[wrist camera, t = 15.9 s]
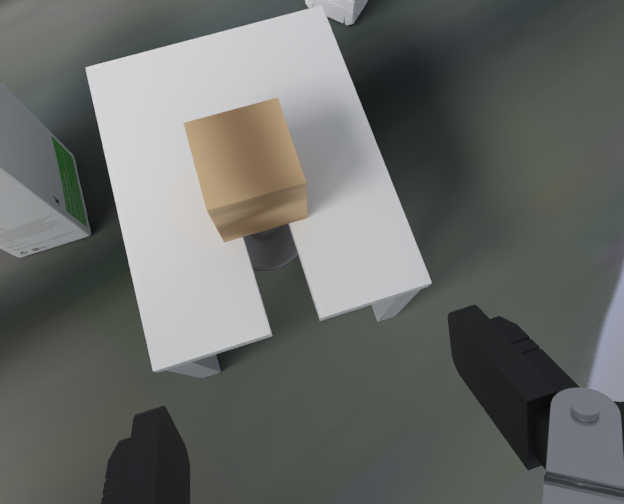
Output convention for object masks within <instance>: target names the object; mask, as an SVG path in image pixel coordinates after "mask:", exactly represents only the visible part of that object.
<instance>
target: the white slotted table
mask: <svg viewBox="0 0 624 504" xmlns="http://www.w3.org/2000/svg"><path fill="white" fill-rule="evenodd" d="M85 69H86V73H87V78H88V82H89V87H90V91H91V96H92V100H93V105H94V109H95V114H96V118H97V123H98V127H99V131H100V136H101V140H102V145H103V149H104V154H105V158H106V163H107V167H108V172H109V176H110V181H111V185H112V190H113V194H114V199H115V203H116V208H117V212H118V217H119V221H120V226H121V230H122V235H123V239H124V244H125V248H126V253H127V257H128V262H129V266H130V271H131V275H132V280H133V284H134V289H135V293H136V298H137V302H138V307H139V311H140V316H141V320H142V325H143V329H144V334H145V338H146V342H147V347H148V351H149V356H150V360H151V365H152V369H153V372H158V373H159V372H162V371H165V370H167V371H171V372H175V373H180V374H184V375H189V376H193V377H198V378H205V377H208V376H211V375H215V374H218V373H221V370H220V366H219V363H218V359H217V355H216V354H218V353H222V352H225V351H228V350H231V349H234V348H237V347H240V346H244V345H247V344H250V343H253V342H256V341H259V340H262V339H266V338H269V337H272V336H273V335H272V332H271V329H270V325H269V322H268V318H267V315H266V312H265V308H264V305H263V301H262V298H261V295H260V291H259V288H258V284H257V281H256V278H255V274H254V271H253V267H252V264H251V261H250V257H249V254H248V250H247V247H246V244H245V240H244V237H241V238H238V239H234V240H231V241H227V242H224V241H223V239H222V237H221V235H220V234H219V232H218V230H217V228H216V226H215V225H214V223H213V221H212V219H211V217H210V215H209V214H208V212H207V209H206V206H205V202H204V198H203V194H202V191H201V187H200V183H199V179H198V176H197V172H196V168H195V164H194V161H193V157H192V153H191V150H190V146H189V142H188V138H187V135H186V131H185V127H184V123H185V122H189V121H192V120H196V119H200V118H204V117H207V116H211V115H215V114H218V113H222V112H226V111H230V110H233V109H237V108H241V107H244V106H248V105H252V104H256V103H259V102H263V101H267V100H270V99H274V98H278V99H279V102H280V105H281V108H282V111H283V114H284V117H285V120H286V123H287V126H288V129H289V132H290V135H291V138H292V141H293V144H294V147H295V150H296V153H297V156H298V159H299V162H300V165H301V168H302V171H303V174H304V177H305V180H306V191H307V218H306V219H303V220H299V221H296V222H293V223H289V227H290V230H291V233H292V237H293V240H294V243H295V246H296V249H297V252H298V255H299V258H300V261H301V264H302V267H303V271H304V274H305V277H306V280H307V283H308V286H309V289H310V292H311V295H312V298H313V301H314V304H315V308H316V311H317V314H318V317H319V320H320V321H322V320H325V319H328V318H332V317H335V316H338V315H341V314H344V313H347V312H350V311H354V310H357V309H360V308H363V307H366V306H369V305H371V306H372V308H373V311H374V314H375V317H376V320H377V322H379V321H382V320H385V319H389V318H392V317H395V316H396V315H397V314H398V313H399V312H400V311H401V310H402V309H403V308H404V307H405V306H406V304H407V303H408V302H409V301H410V300H411V299H412V298H413V297H414V296H415V295H416V294H417V293H418V292H419V291H420V290H421V289H423V288H426V287H428V286H429V285H430V284H431V283H432V282H431V279H430V277H429V274H428V272H427V269H426V267H425V264H424V262H423V259H422V257H421V254H420V251H419V249H418V246H417V244H416V241H415V239H414V236H413V234H412V231H411V229H410V226H409V224H408V221H407V219H406V216H405V214H404V211H403V209H402V206H401V203H400V201H399V198H398V196H397V193H396V191H395V188H394V186H393V183H392V181H391V178H390V176H389V173H388V171H387V168H386V166H385V163H384V161H383V158H382V156H381V153H380V150H379V148H378V145H377V143H376V140H375V138H374V135H373V133H372V130H371V128H370V125H369V123H368V120H367V118H366V115H365V113H364V110H363V108H362V105H361V102H360V100H359V97H358V95H357V92H356V90H355V87H354V85H353V82H352V80H351V77H350V75H349V72H348V70H347V67H346V65H345V62H344V60H343V57H342V55H341V52H340V49H339V47H338V44H337V42H336V39H335V37H334V34H333V32H332V29H331V27H330V24H329V22H328V19H327V17H326V14H325V12H324V9H323V7H322V5H321V6H317V7H314V8H310V9H306V10H302V11H298V12H295V13H291V14H287V15H283V16H279V17H275V18H272V19H268V20H264V21H260V22H256V23H253V24H249V25H245V26H241V27H237V28H234V29H230V30H226V31H222V32H218V33H215V34H211V35H207V36H203V37H199V38H196V39H192V40H188V41H184V42H180V43H176V44H173V45H169V46H165V47H161V48H157V49H154V50H150V51H146V52H142V53H138V54H135V55H131V56H127V57H123V58H119V59H116V60H112V61H108V62H104V63H100V64H96V65H93V66H89V67H85Z"/></svg>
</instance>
